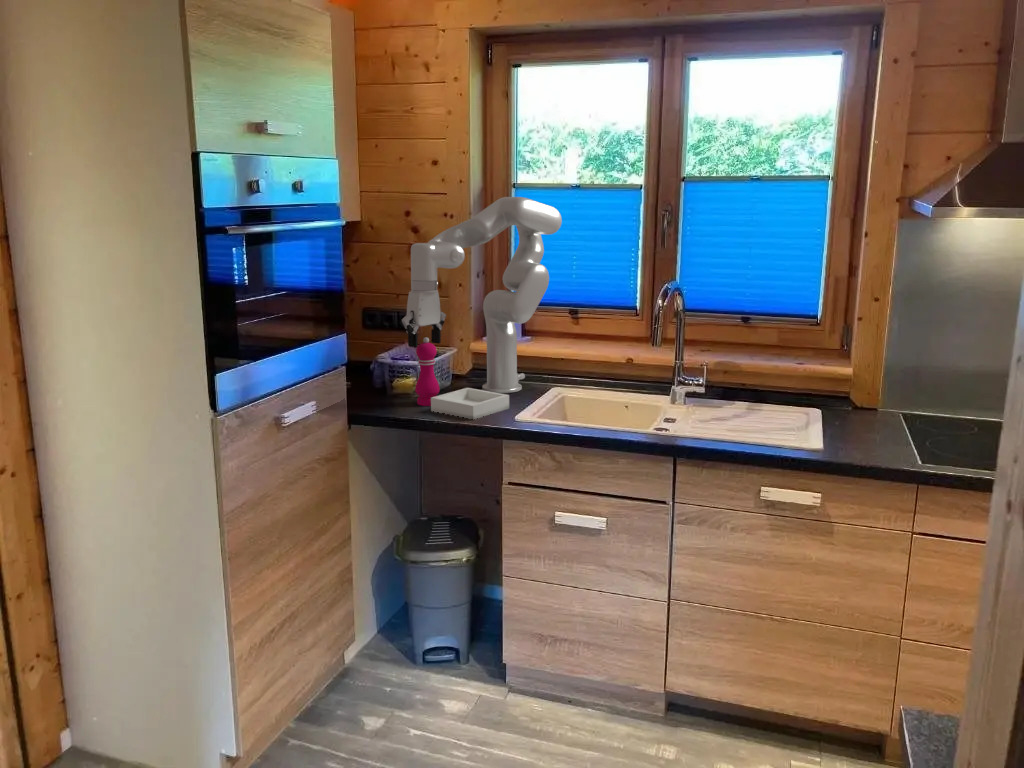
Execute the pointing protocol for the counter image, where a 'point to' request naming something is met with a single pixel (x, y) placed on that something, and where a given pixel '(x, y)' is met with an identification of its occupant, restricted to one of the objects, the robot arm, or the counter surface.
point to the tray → (470, 403)
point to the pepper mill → (426, 373)
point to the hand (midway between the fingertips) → (424, 344)
